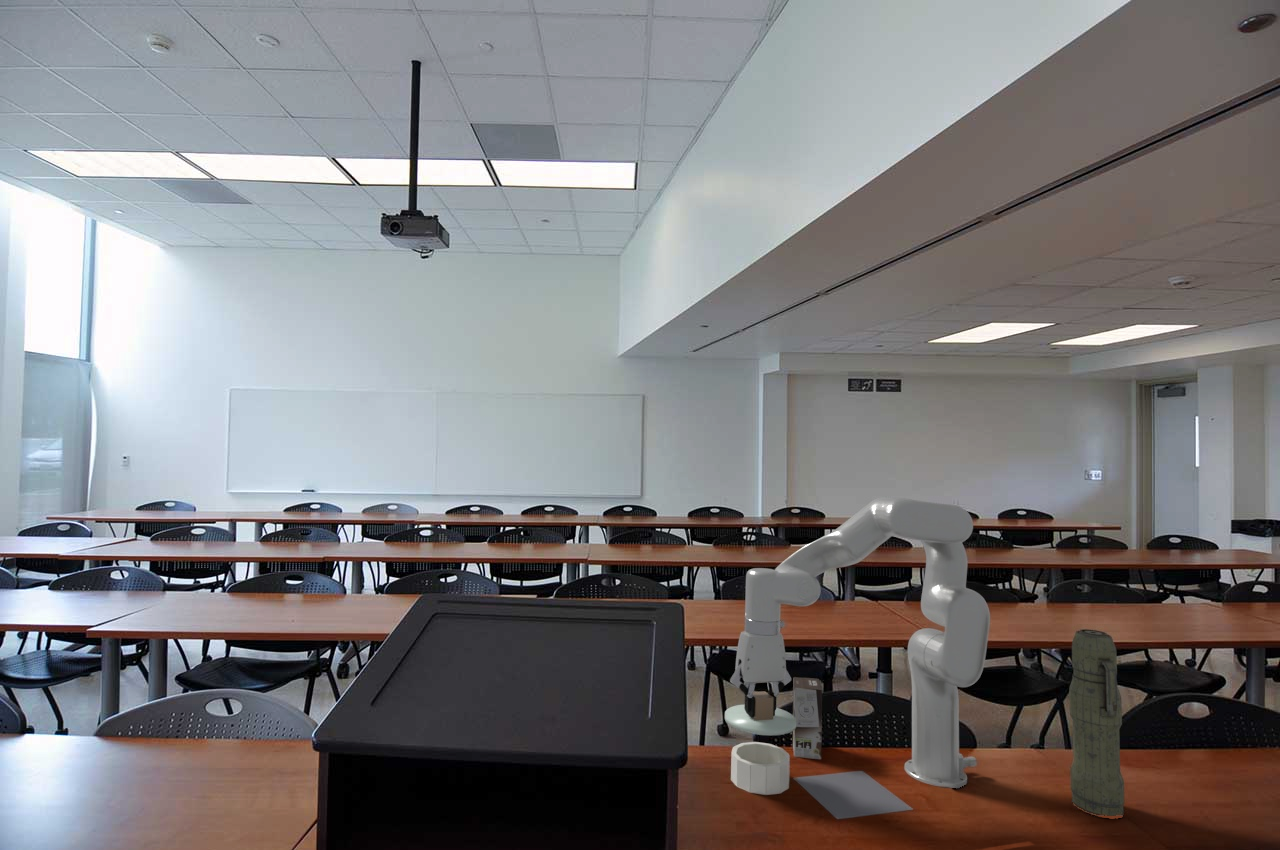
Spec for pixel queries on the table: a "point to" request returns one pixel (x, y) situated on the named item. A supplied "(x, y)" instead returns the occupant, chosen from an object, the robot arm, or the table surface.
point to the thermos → (1096, 725)
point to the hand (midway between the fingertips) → (760, 713)
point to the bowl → (760, 768)
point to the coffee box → (807, 717)
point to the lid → (761, 717)
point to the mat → (851, 794)
